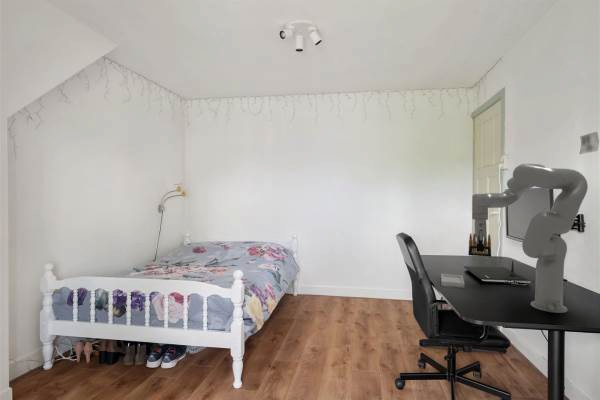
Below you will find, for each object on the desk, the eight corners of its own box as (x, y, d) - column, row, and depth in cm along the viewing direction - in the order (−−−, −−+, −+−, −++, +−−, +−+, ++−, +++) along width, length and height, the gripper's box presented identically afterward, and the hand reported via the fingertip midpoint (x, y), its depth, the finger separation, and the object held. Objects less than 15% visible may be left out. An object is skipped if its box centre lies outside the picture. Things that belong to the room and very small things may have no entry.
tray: (464, 288, 170) (464, 283, 170) (441, 285, 175) (441, 281, 175) (462, 279, 187) (462, 275, 187) (441, 277, 191) (441, 273, 191)
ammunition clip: (468, 255, 177) (468, 233, 177) (468, 254, 179) (468, 232, 178) (491, 256, 173) (491, 234, 173) (490, 256, 175) (491, 233, 174)
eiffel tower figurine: (498, 283, 181) (498, 259, 181) (495, 279, 190) (495, 256, 190) (530, 286, 175) (531, 262, 175) (525, 282, 185) (526, 258, 184)
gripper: (490, 217, 167) (489, 253, 167) (486, 216, 181) (485, 249, 181) (473, 217, 170) (473, 252, 170) (470, 215, 184) (470, 248, 184)
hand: (479, 250), depth 176 cm, fingers closed on ammunition clip, 2 cm apart
